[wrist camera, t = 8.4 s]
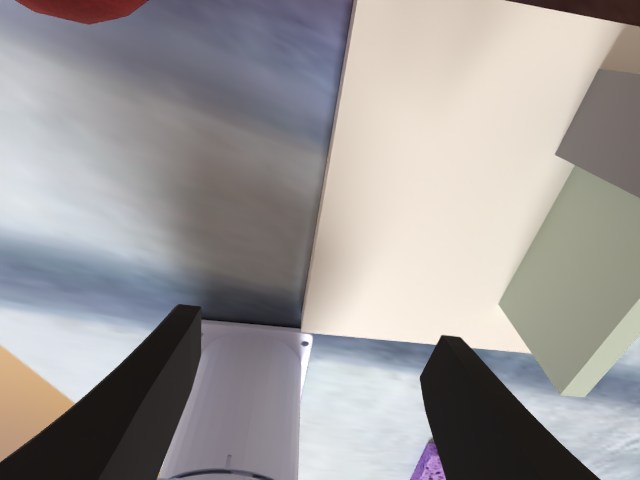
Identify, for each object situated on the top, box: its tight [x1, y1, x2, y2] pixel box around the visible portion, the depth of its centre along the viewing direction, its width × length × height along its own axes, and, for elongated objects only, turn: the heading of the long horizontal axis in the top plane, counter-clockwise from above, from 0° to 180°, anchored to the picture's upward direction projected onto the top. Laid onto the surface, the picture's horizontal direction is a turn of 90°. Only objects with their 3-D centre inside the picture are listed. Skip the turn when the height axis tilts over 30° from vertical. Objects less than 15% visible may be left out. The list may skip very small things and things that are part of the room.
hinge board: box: [301, 0, 640, 353], centre depth 17 cm, size 18×17×5 cm
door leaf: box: [498, 69, 640, 397], centre depth 15 cm, size 13×4×6 cm, turn 171°
